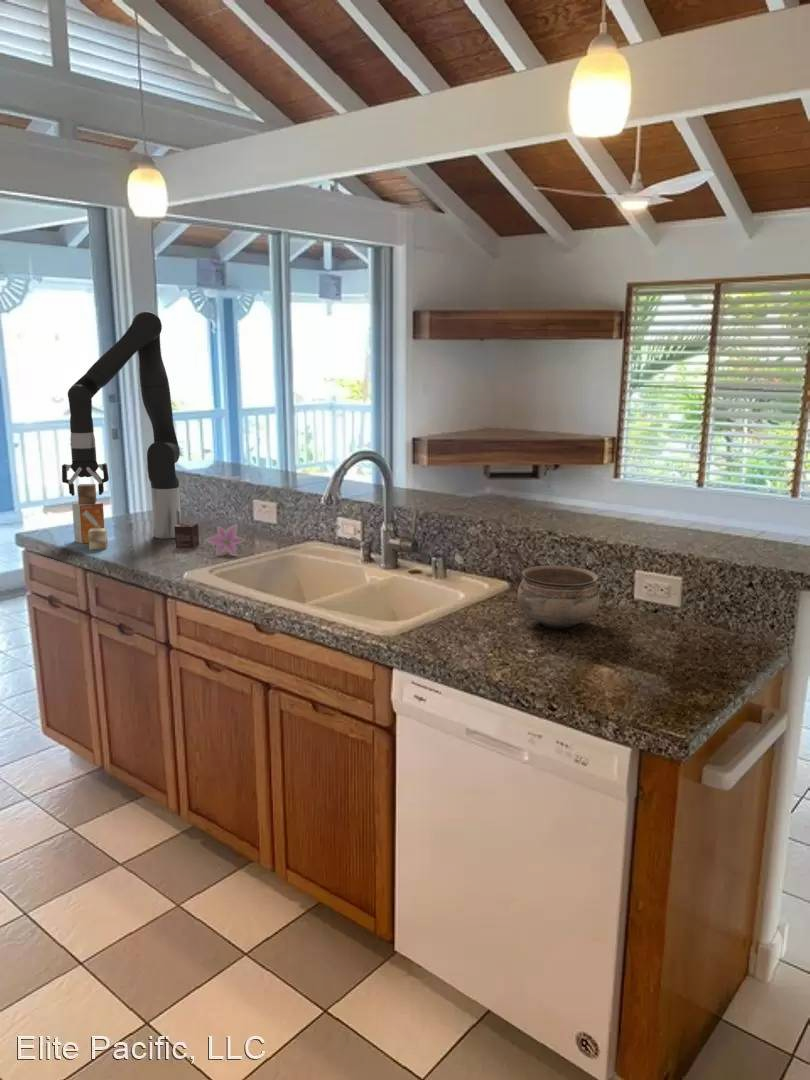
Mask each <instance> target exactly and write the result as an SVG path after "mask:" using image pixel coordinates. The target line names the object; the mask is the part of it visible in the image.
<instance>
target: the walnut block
mask: <svg viewBox="0 0 810 1080" xmlns="http://www.w3.org/2000/svg"><path fill="white" fill-rule="evenodd" d="M76 488H77V496H78V497H77V498H78V499H77V500H78V503H79V504H95V503H96V502H98V501H97V489H96V488H97V487H96V483H86V484H85V483H80V484H78V485H77V487H76Z"/></svg>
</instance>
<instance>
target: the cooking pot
mask: <svg viewBox="0 0 810 1080" xmlns="http://www.w3.org/2000/svg"><path fill="white" fill-rule="evenodd" d="M521 576H522V577H523V578H522V580H521V581H520V583H519V586H518V588H517V603H518V604H519V606H520V608H521V610H522V612H523V613H525V615H527V616H528V617H529V618H530V619H533V620H534V621H536V622H537V623H539V624H541V625H543V626H544V627H545V628H548V629H552V630H553V629H554V630H565V629H570V628H571V627H573V626H576V625H578V624H580V623H583V622H584V621H587V620H588V619H590V618H591V617H593V615H595V613H596V612H597V610H598V608H599V605H600V601H601V600H600V598H601V597H600V593H599V592H600V591H599V588H598V586H597V583H596V581H597V580H598V578H599V576H598V575H597V573H595V572H593V571H591V570H588V569H584V568H580V567H575V566H568V565H567V566H566V565H553V564H551V565H546V564H545V565H537V566H536V565H535V566H531V567H527V568H524V569H523V570H522V571H521Z"/></svg>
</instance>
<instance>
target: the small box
mask: <svg viewBox="0 0 810 1080" xmlns="http://www.w3.org/2000/svg"><path fill="white" fill-rule="evenodd" d="M71 507H72V521H73V522H72V523H73V534H74V541H75V542H76V543H79V544H82V545H83V544H89V535H88V531H89V530H90V529H93V528H105V516H104V503H103V502H100V501H97V502H96V503H95V504H79V502H74V503H71Z"/></svg>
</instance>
